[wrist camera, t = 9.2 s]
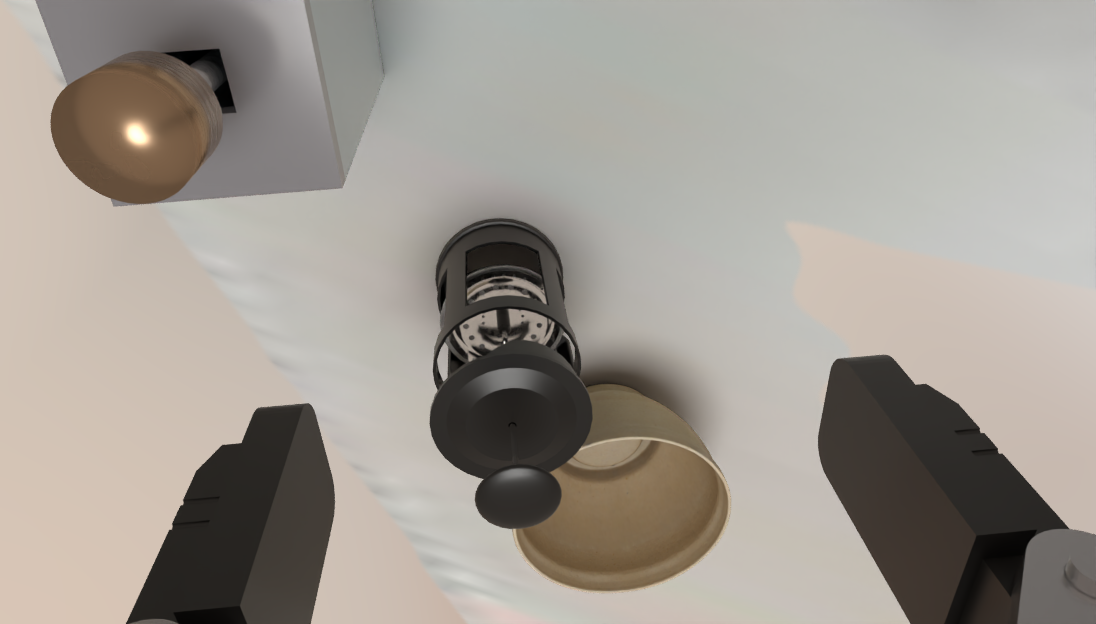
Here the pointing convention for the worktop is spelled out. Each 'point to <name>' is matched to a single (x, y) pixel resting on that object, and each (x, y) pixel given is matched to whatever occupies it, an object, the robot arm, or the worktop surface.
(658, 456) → the planter bowl
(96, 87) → the plunger
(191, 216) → the worktop surface
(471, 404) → the french press
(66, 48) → the block
